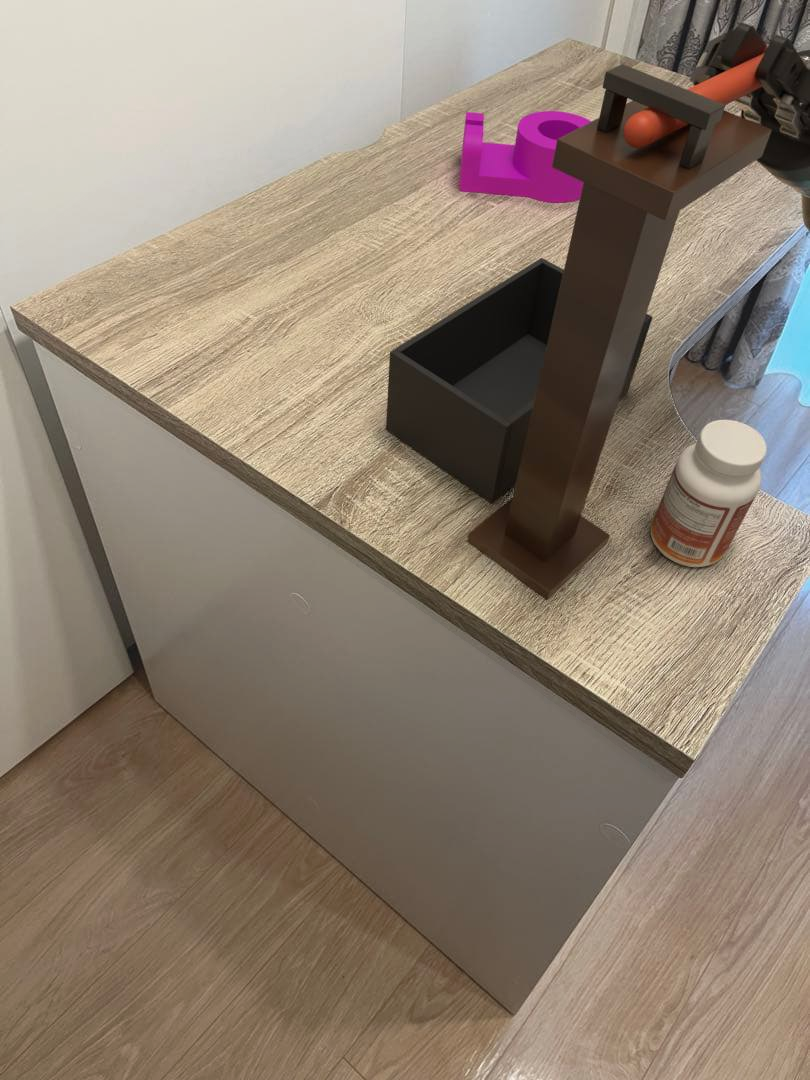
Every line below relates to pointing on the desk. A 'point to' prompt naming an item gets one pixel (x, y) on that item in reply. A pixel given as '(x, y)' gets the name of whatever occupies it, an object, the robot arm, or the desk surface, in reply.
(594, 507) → the desk surface
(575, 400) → the brown pedestal stand
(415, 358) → the bin
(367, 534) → the desk surface
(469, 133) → the tape dispenser
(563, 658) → the desk surface
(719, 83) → the orange red rod
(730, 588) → the desk surface
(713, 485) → the pill bottle
